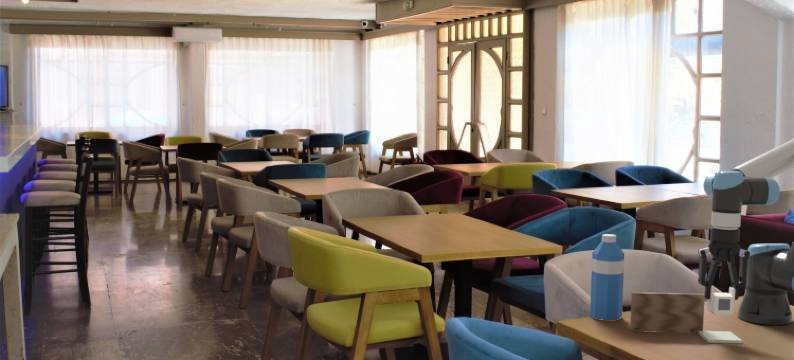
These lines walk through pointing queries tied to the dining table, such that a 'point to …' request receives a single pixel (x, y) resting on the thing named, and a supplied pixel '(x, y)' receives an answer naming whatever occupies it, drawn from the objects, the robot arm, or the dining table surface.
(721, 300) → the white cube
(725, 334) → the coaster
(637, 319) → the walnut screen
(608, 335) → the dining table surface
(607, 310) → the water bottle
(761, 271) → the robot arm
